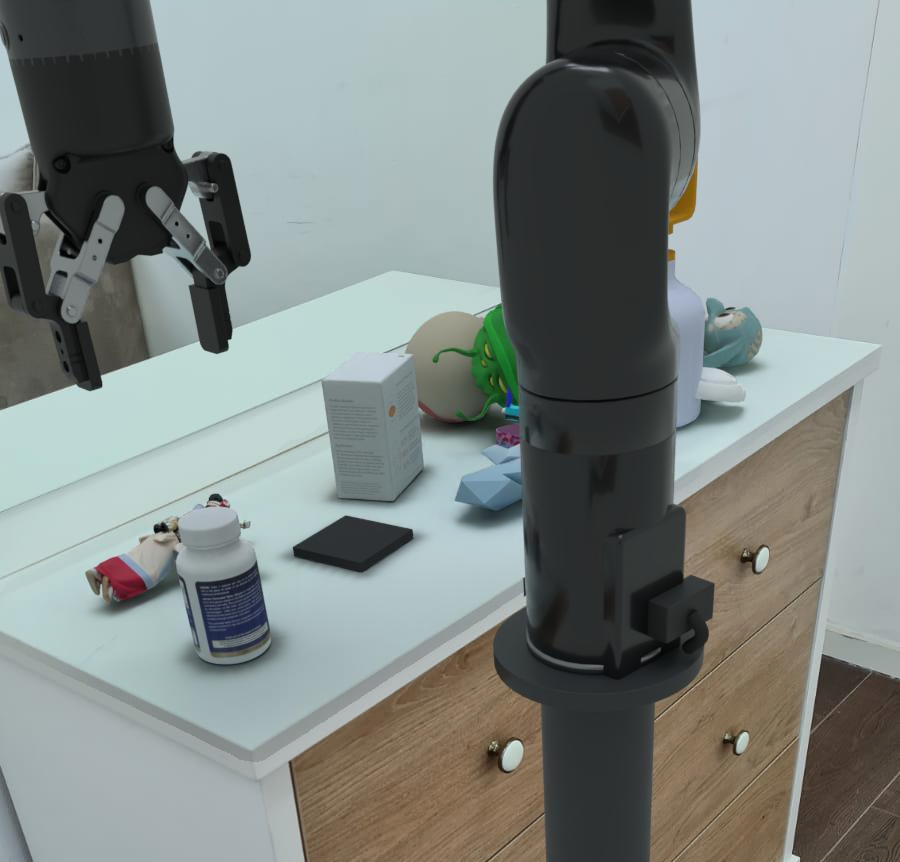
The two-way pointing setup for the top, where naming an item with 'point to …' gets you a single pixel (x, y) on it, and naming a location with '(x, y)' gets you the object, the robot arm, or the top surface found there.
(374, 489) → the small box
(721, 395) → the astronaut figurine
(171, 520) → the figurine
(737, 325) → the stuffed animal
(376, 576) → the top surface
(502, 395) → the figurine
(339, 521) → the pad
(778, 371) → the top surface
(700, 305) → the soap bottle
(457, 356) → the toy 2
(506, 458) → the polygonal blue rock
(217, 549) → the pill bottle
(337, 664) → the top surface
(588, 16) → the robot arm
